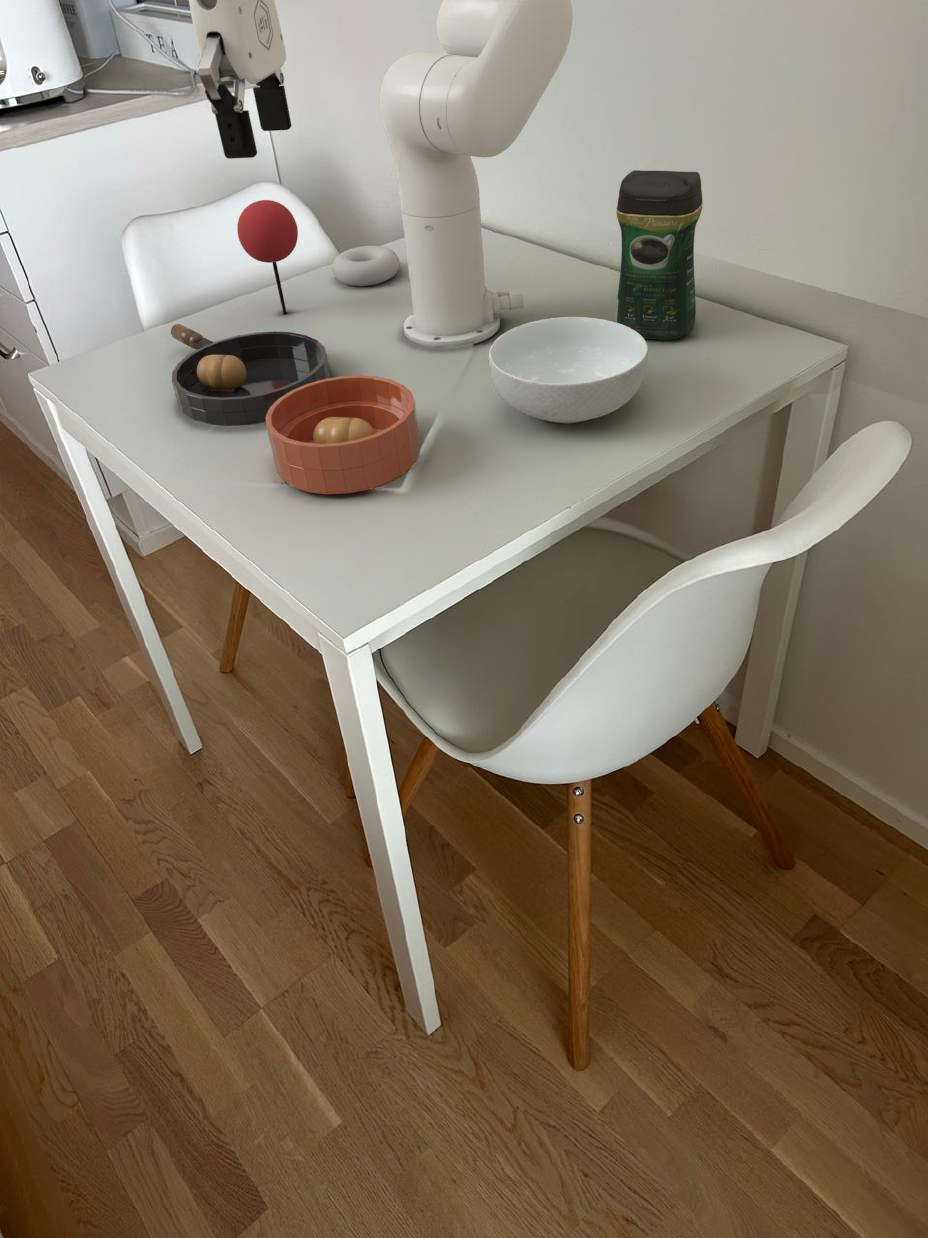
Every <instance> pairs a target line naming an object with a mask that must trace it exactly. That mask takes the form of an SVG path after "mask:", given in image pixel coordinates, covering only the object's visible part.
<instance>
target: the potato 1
mask: <svg viewBox="0 0 928 1238" xmlns="http://www.w3.org/2000/svg"><path fill="white" fill-rule="evenodd" d="M197 376H198V378H199V380H200V382H201V383H202V384H203V385H204V386H206V387H208V388H210V390H211V391H225V392H233V391H234V390H235V389H236V388H238V387H240V386H241V385H242V384H243V383H244V381H245V379H246V368H245V365H244V364H243V362H242V361H241V360H240V359H239V358H237V357H235V356H232V355H208V356H205V357H204V358H202V359H201V360H200V362H199V364H198V366H197Z"/></svg>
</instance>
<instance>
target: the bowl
mask: <svg viewBox="0 0 928 1238" xmlns="http://www.w3.org/2000/svg"><path fill="white" fill-rule="evenodd" d="M416 408H417V407H416V400H415V398H414V395H413V392H412V391H411V390H410V389H409V388H408V387H406V386H405V385H404V384H402V383H400V382H397V381H396V380H393V379H391V378H385V377H383V376H376V375H363V374H360V375H359V374H358V375H357V374H355V375H342V376H340V375H339V376H334V377H331V378H328V379H324V380H319V381H316V382H312V383H309V384H306V385H303V386H301V387H299V388H296V389H294V390H292V391H290V392H288V393H287V394H285V395H284V396H282V397H281V398H279V399H278V400H277V401H276V402H275V403H274V404H273V405H272V406H271V407H270V408H269V410H268V413H267V415H266V418H265V419H266V422H265V426H266V431H267V435H268V439H269V444H270V447H271V452H272V456H273V461H274V465H275V470H276V473H277V474H278V475H279V477H280V478H281V480H282V481H283V482H284V483H286V484H287V485H289V486H291V487H292V488H295V489H297V490H301V491H305V492H307V493H310V494H311V493H313V494H321V495H341V494H342V495H343V494H344V495H345V494H352V493H358V492H364V491H367V490H371V489H374V488H377V487H381V486H383V485H386V484H388V483H389V482H392V481H394V480H396V479H398V478H399V477H402V476H403V475H404V474H405V473H406V472H407V471H409V470H410V469H411V468H412V467H413V466H414V464H415V463H416V461H417V460H418V458H419V457H420V452H421V440H420V431H419V430H420V429H419V424H418V423H419V422H418V415H417V414H418V413H417V409H416ZM329 417H347V418H360V419H363V420H365V421H366V422H368V423H369V424H370V425H371V426H372V428H373V430H374V432H375V434H374V435H370V436H367V437H364V438H361V439H358V440H353V441H347V442H341V443H328V444H316V443H314V441H313V433H314V430H315V428H316V426H317V424H318V423H319V422H320V421H322V420H324V419H325V418H329Z"/></svg>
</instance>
